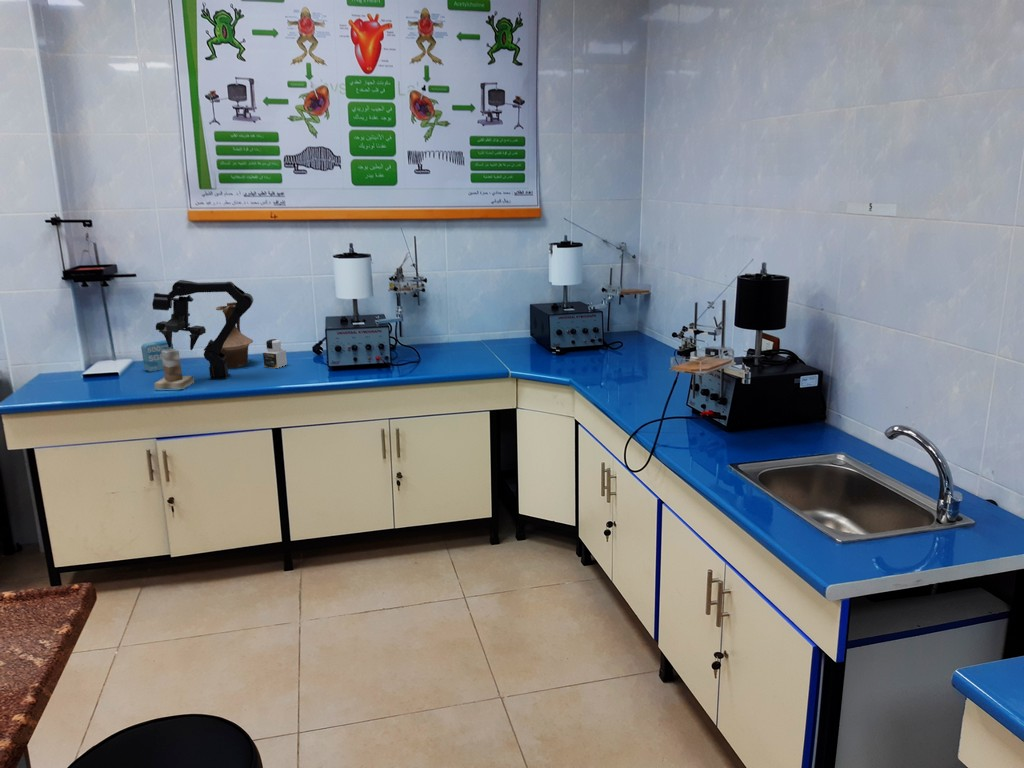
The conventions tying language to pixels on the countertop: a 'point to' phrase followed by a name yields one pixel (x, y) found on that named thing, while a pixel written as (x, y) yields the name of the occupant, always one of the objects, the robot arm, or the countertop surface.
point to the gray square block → (171, 365)
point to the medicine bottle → (274, 354)
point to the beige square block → (174, 383)
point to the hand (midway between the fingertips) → (180, 348)
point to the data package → (154, 355)
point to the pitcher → (235, 341)
